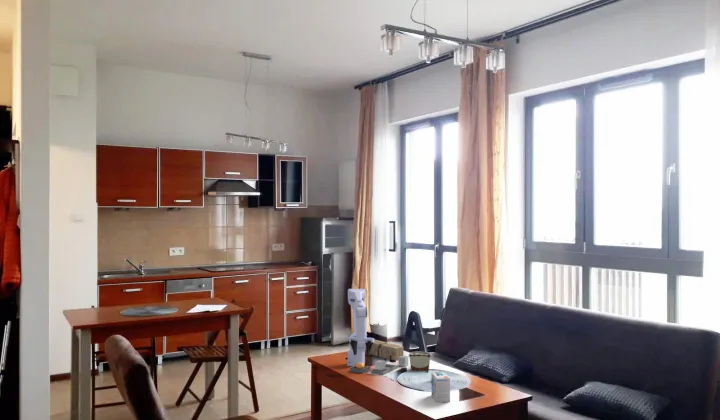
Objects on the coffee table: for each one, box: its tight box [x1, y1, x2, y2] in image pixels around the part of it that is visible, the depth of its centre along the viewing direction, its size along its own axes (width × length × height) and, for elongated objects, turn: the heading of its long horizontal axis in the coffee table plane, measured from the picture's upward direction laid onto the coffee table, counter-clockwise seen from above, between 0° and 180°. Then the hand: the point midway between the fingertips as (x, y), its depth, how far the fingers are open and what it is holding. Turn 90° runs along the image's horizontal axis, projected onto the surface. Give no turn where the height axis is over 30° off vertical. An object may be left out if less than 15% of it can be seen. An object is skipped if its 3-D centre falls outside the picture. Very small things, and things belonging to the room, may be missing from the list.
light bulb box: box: [430, 371, 451, 403], centre depth 259 cm, size 11×7×11 cm, turn 5°
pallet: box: [366, 363, 402, 377], centre depth 305 cm, size 11×19×2 cm, turn 149°
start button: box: [355, 363, 365, 369], centre depth 305 cm, size 4×4×3 cm
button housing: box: [349, 365, 371, 375], centre depth 305 cm, size 8×8×3 cm
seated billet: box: [374, 359, 386, 372], centre depth 301 cm, size 4×4×6 cm
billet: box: [398, 355, 409, 368], centre depth 316 cm, size 4×4×6 cm
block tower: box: [365, 339, 404, 362], centre depth 345 cm, size 8×8×29 cm
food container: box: [408, 350, 432, 372], centre depth 309 cm, size 12×6×10 cm, turn 84°
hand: (361, 355), depth 305 cm, fingers open, 7 cm apart
